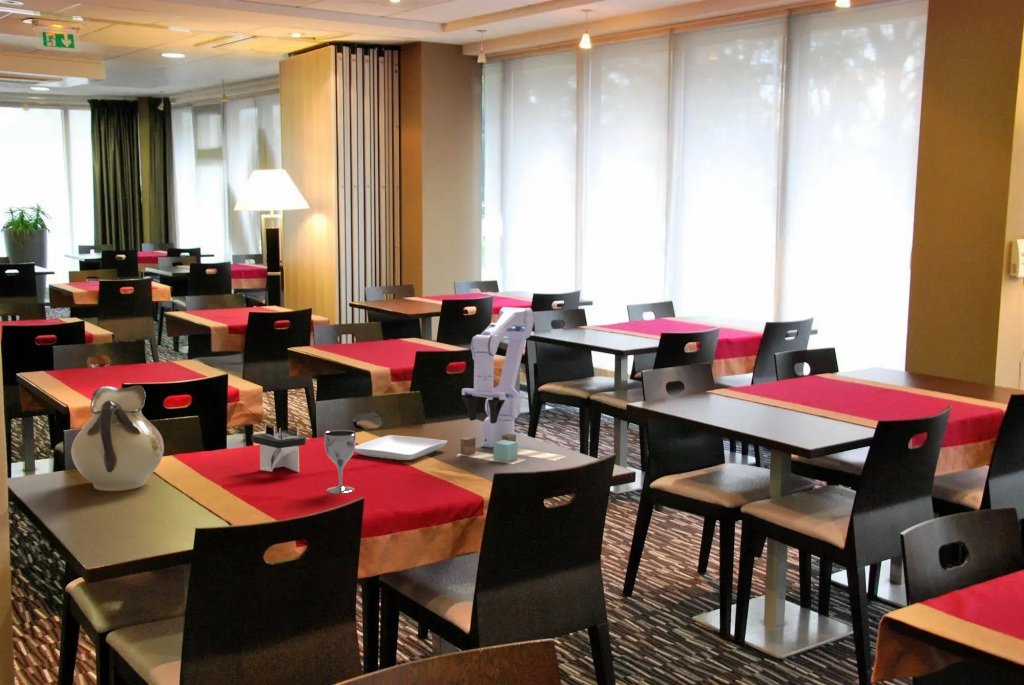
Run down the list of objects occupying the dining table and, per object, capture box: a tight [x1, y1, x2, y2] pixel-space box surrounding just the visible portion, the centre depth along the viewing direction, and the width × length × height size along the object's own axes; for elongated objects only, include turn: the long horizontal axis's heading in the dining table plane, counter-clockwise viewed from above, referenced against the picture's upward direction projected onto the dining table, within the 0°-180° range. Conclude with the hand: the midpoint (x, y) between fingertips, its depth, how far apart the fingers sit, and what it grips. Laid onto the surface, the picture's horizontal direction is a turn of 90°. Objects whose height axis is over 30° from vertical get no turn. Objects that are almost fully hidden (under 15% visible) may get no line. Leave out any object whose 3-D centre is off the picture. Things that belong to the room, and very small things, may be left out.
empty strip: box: [502, 433, 568, 461], centre depth 312 cm, size 20×7×5 cm, turn 55°
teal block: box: [492, 440, 519, 462], centre depth 304 cm, size 5×5×5 cm
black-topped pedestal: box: [251, 423, 307, 473], centre depth 291 cm, size 28×26×13 cm
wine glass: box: [323, 429, 357, 495], centre depth 271 cm, size 8×8×15 cm
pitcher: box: [70, 385, 165, 492], centre depth 272 cm, size 22×24×25 cm
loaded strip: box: [456, 436, 527, 465], centre depth 307 cm, size 20×7×5 cm, turn 55°
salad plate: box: [354, 434, 448, 462], centre depth 315 cm, size 21×21×3 cm
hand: (483, 421), depth 311 cm, fingers open, 7 cm apart
